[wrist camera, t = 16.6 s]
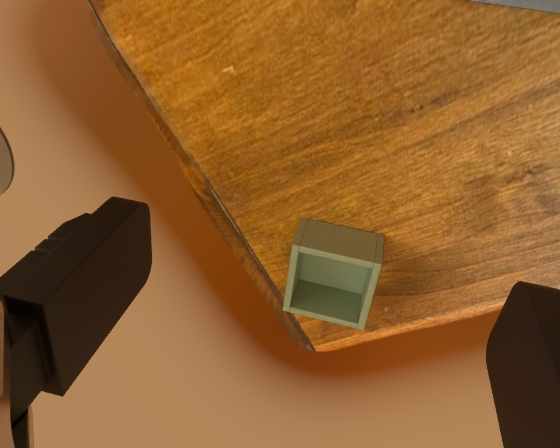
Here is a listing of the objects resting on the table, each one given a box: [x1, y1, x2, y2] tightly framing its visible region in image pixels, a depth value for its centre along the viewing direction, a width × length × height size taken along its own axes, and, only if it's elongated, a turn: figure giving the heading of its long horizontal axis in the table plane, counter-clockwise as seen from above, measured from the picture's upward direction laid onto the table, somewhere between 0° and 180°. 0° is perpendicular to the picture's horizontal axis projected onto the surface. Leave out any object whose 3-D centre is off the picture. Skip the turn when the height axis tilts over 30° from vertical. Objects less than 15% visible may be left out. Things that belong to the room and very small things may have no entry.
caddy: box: [283, 218, 385, 330], centre depth 41 cm, size 7×7×4 cm
